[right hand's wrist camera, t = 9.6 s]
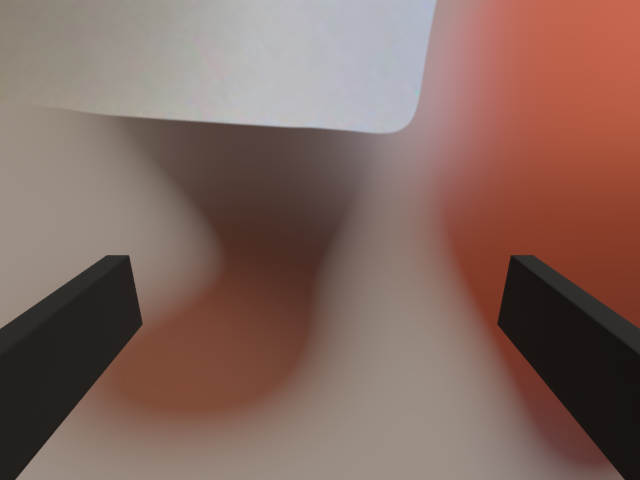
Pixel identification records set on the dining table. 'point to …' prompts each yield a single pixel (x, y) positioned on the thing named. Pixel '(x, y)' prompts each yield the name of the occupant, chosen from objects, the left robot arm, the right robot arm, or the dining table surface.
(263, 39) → the dining table surface
